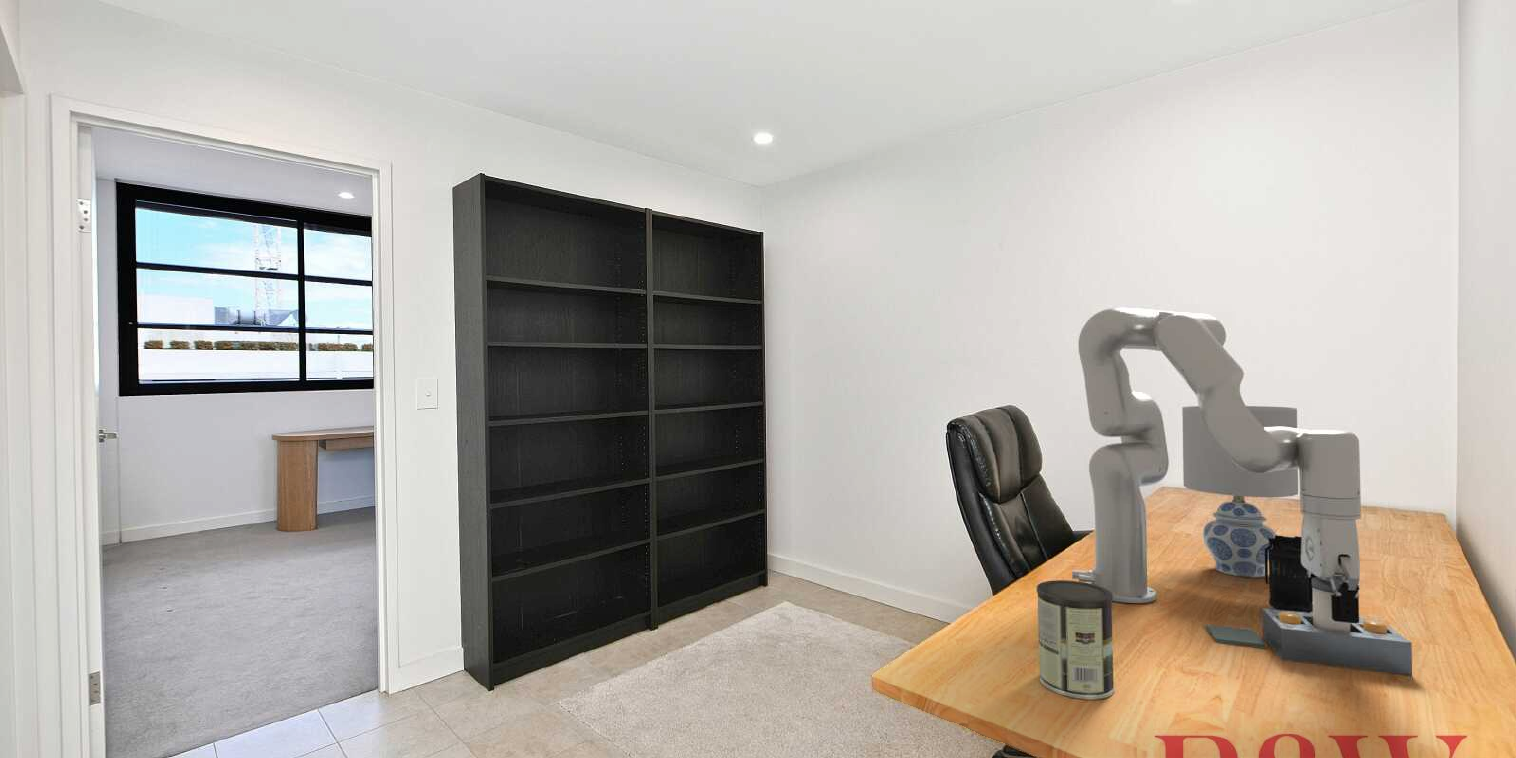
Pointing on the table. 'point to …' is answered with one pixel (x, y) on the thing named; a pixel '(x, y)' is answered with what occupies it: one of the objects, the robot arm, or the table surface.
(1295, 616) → the plunger left
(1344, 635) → the housing
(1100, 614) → the coffee can
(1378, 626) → the plunger right
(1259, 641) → the mat
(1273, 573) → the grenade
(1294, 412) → the lamp
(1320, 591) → the ball
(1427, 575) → the table surface
